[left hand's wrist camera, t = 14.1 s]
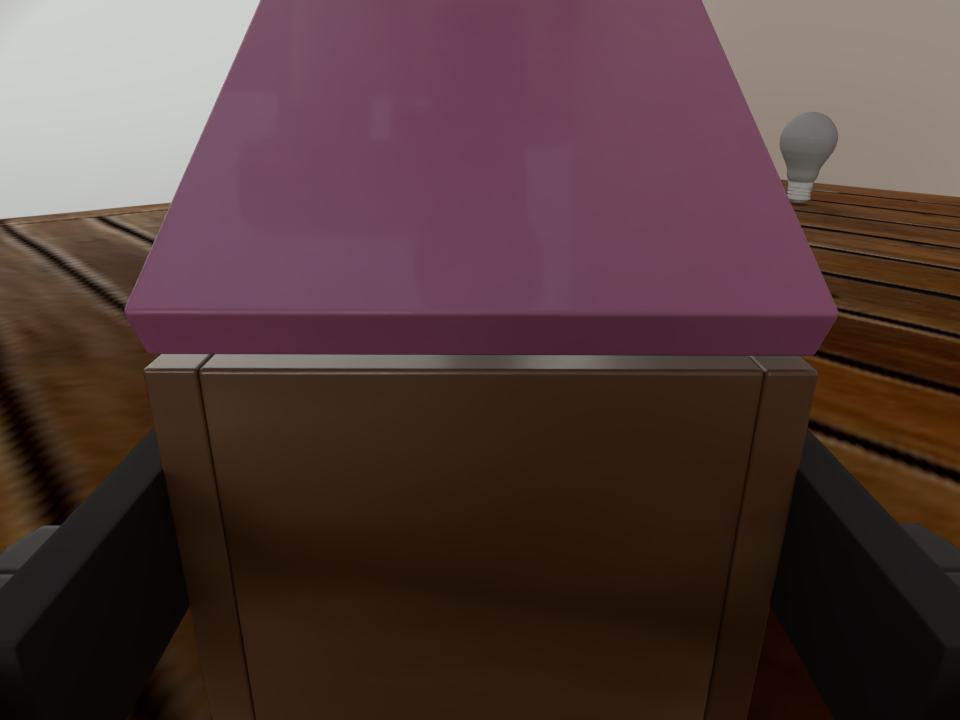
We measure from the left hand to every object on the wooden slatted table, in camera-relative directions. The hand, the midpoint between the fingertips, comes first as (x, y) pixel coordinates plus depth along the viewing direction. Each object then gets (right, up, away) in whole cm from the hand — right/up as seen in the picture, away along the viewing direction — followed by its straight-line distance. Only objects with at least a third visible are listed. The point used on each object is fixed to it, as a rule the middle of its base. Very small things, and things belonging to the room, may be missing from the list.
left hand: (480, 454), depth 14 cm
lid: (0, +9, +2) cm, 9 cm away
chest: (0, -4, +7) cm, 8 cm away
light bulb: (+37, +20, +67) cm, 79 cm away
